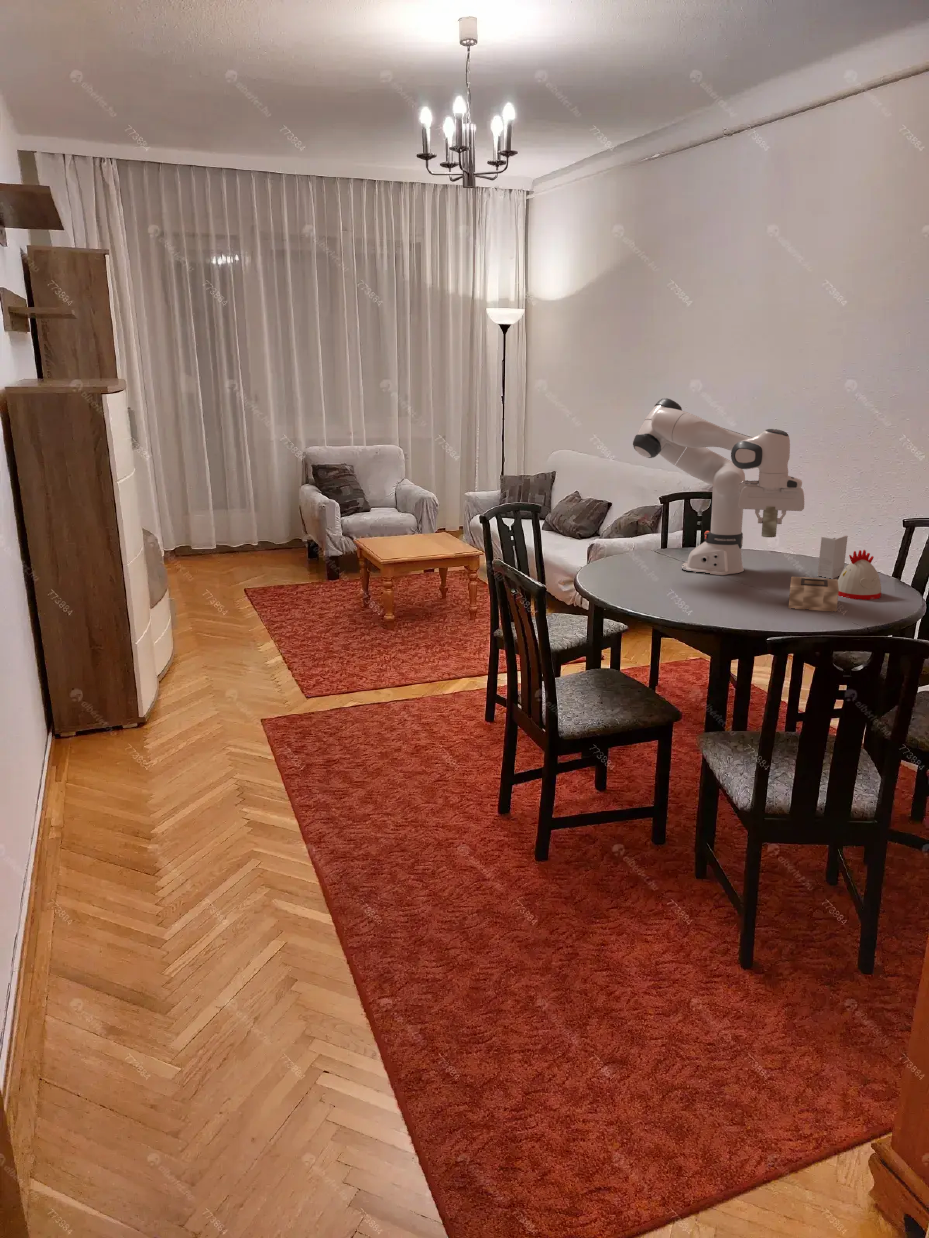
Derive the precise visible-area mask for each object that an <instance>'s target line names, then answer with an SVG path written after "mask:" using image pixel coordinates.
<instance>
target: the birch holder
mask: <svg viewBox="0 0 929 1238" xmlns="http://www.w3.org/2000/svg"><path fill="white" fill-rule="evenodd" d="M838 579H839V578H838ZM838 579H837V578H833V579H829V578H824V577H807V576H806V577H805V576H791V578H790V586H789V597H788V599H789V600H788V606H787V607H788V609H791V608H795V610H805V609H809V610H808V611H821V612H822V611H823V612H833V611H835V612H834V613H836V612H837V610H838V603H839V602H838V600H839V599H838V598H839V596H838V592H839V588H838Z"/></svg>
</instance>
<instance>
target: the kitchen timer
mask: <svg viewBox="0 0 929 1238" xmlns="http://www.w3.org/2000/svg"><path fill="white" fill-rule="evenodd" d="M848 557H849V559H850V562H849V564H847V565H846V566H845V567H844V570H843V571H842V573H841V575H840V576H839V577H838V588H839V592H838V597H841V596H843V597H842V598H844V597H846V599H849V598H850V599H851V600H858V599H862V600H863V601H864V600H865V599H866V600H865V601H870V599H871V600H877V599H880V598H881V596H882V583H881V579H880V575H879V573H878V571H877V569H876V568H875V566H874V565H873V564H872V561H873V559H874V556H873V555H872V556H871V553H870V552H867V550H866V549H863V551H862V550H860V549H859V550H858V553H857V551H856V550H854V551H853V555H851V554H849V556H848ZM850 599H849V600H850Z"/></svg>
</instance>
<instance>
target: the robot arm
mask: <svg viewBox="0 0 929 1238" xmlns="http://www.w3.org/2000/svg"><path fill="white" fill-rule="evenodd" d="M790 442H791V440H790V435H789V434H788V433H787V432H786V431H785V430H780V429H777V428H776V429H774V428H768V429H764V430H763V432H761V433H759V434H757V435H755V436H750V435H747V434H746V435H745V434H743V433H741V432H737V431H733V430H731V429H728V428H724V427H721V426H719V425H717V424H715V423H713V422H710V421H708V420H706V419H704V418H702V417H699V416H697V415H695V414H693V413H690V412H687V411H685V410H683V408H682V407H681V405H680V404H679V403H678V402H676V401H675V400H673V399H671V398H667V397H666V398H665V397H664V398H661V399H659V400H658V401H657V402H656V403H655V404H654V407H653V408H652V409H651V410H650V411H649V413H648V414H647V415H646V417H645V418H644V421H643V422H642V424H641V426H640V427H639V430H638V432H637V434H635V436H634V438H633V441H632V447H633V449H634V450H635V451H636V452H637V453H638V454H639V455H640V456H642V457H644V458H648V459H653V458H656V457H657V456H658V455H660V456H661V457H662V458H664V460H666V461H667V462H669V463H670V464H671V465H674V466H675V467H676V468H678V469H680V470H682V471H683V472H685V473H687V475H690V476H692V477H693V478H696V479H697V480H700V481H702V482H704V483H706V484H707V485H710V486H712V493H711V494H712V498H711V519H710V530H706V531H705V532H704V541H703V542H702V543H701V544H699V545H698V546H696V547H695V548H693V549H692V550H691V551H690V552H689V555H688V558H687V561H686V562H684V563H682V565H684V566H682V565H681V567H682V568H683V567H684V568H686V569H687V570H691V571H696V572H706V573H710V574H709V575H717V576H726V575H732V574H738V573H742V572H744V565H743V558H742V548H743V540H744V537H743V536H744V534H743V531H742V530H743V516H744V510H754V514H755V515H756V517H757V524H762V523H763V516H762V517H761V515H760V514H759V513H761V511H763V510H765V509H766V506H769V507H775V510H778V511H781V516H780V517H777V525H782V524H783V523H782V522H783V520H784V517H785V516H786V515H787V512H790V511H791V512H802V511H803V510H804V509H805V492H804V489H803V488H802V486H803V481H802V480H801V479H800V478H797V477H793V476H792V475H789V467H788V465H789V460H790V456H791V453H790V452H791V443H790ZM709 448H721V449H724V450H728V451H730V458H731V460H730V459H728V458H726V457H724V456H723V455H720V454H719V453H716V452H715V451H713V450H711V449H709ZM751 469H758V470H759V472H758V480H746V474H745V471H744V470H751ZM696 572H695V573H696Z"/></svg>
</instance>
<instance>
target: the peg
mask: <svg viewBox="0 0 929 1238" xmlns="http://www.w3.org/2000/svg"><path fill="white" fill-rule="evenodd" d="M778 515H779V510H775V507H769V506H766V509H765V510H762V517H763V523H761V524H762V526H761V537H763V538H776V537H777V529H778V527H777V526H778V524H777V518H779V516H778Z"/></svg>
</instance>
